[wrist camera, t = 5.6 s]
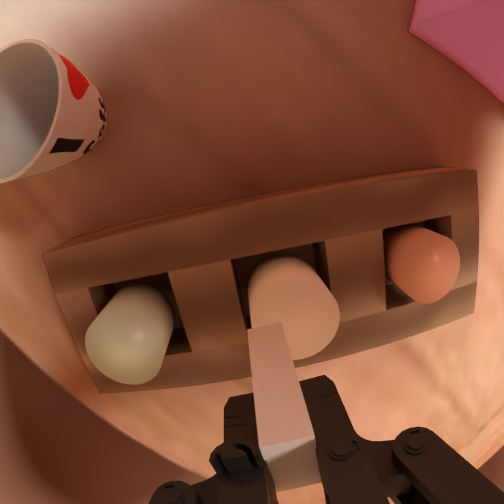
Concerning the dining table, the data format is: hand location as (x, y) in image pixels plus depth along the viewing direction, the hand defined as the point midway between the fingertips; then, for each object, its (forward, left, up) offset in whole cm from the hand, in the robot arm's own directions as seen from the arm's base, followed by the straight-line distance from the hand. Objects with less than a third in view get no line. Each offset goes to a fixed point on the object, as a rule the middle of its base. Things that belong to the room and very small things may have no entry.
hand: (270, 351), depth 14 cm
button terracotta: (0, +12, -10) cm, 15 cm away
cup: (-15, -11, -12) cm, 22 cm away
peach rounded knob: (0, +2, -8) cm, 8 cm away
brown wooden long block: (0, +2, -12) cm, 12 cm away
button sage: (0, -8, -7) cm, 11 cm away
